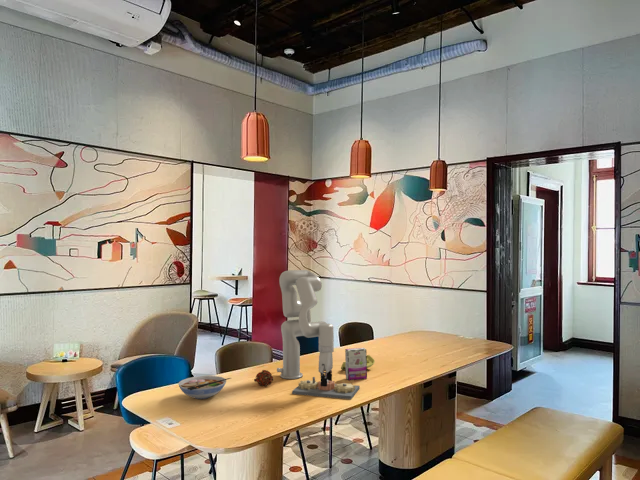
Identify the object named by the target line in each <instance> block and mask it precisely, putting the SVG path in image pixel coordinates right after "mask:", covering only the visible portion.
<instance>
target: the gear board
mask: <svg viewBox="0 0 640 480" xmlns="http://www.w3.org/2000/svg"><path fill="white" fill-rule="evenodd" d="M318 382H319V381H317V380H316V377H315V376H313V377H312V380H310V379H306V380H301V381H299V382H298V386H297V387H295V388H293V390H291V394H292V395H301V396H309V397H323V398H331V399H332V398H333V399H343V400H352V399H353V398H354V397H355V395H356V394H357V393H358V391H359V390H360V388H361V387H360V385H355V384H352V383H351V382H350V383H345V382H342V383H335V386H334V389H332V390H319V388H318ZM327 383H328V380H327Z"/></svg>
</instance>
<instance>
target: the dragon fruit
mask: <svg viewBox="0 0 640 480" xmlns="http://www.w3.org/2000/svg"><path fill="white" fill-rule="evenodd" d="M253 380H254V382H255V383H258V386H260V387H261V386H264V387H268V386H269V385H271V384H272V382H273V381H274V376H273V375H272V373H271V372H270V371H269V370H265V369H262V371H259V372H258V373H256V376H255V378H254V379H253Z"/></svg>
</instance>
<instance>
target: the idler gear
mask: <svg viewBox="0 0 640 480" xmlns="http://www.w3.org/2000/svg"><path fill="white" fill-rule="evenodd" d="M317 382H318V388H319V390H332V389H334V386H335V384H336V382H335V381H334V380H332V381H329V380H328V383H327V386H321V380H320V381H317Z"/></svg>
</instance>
